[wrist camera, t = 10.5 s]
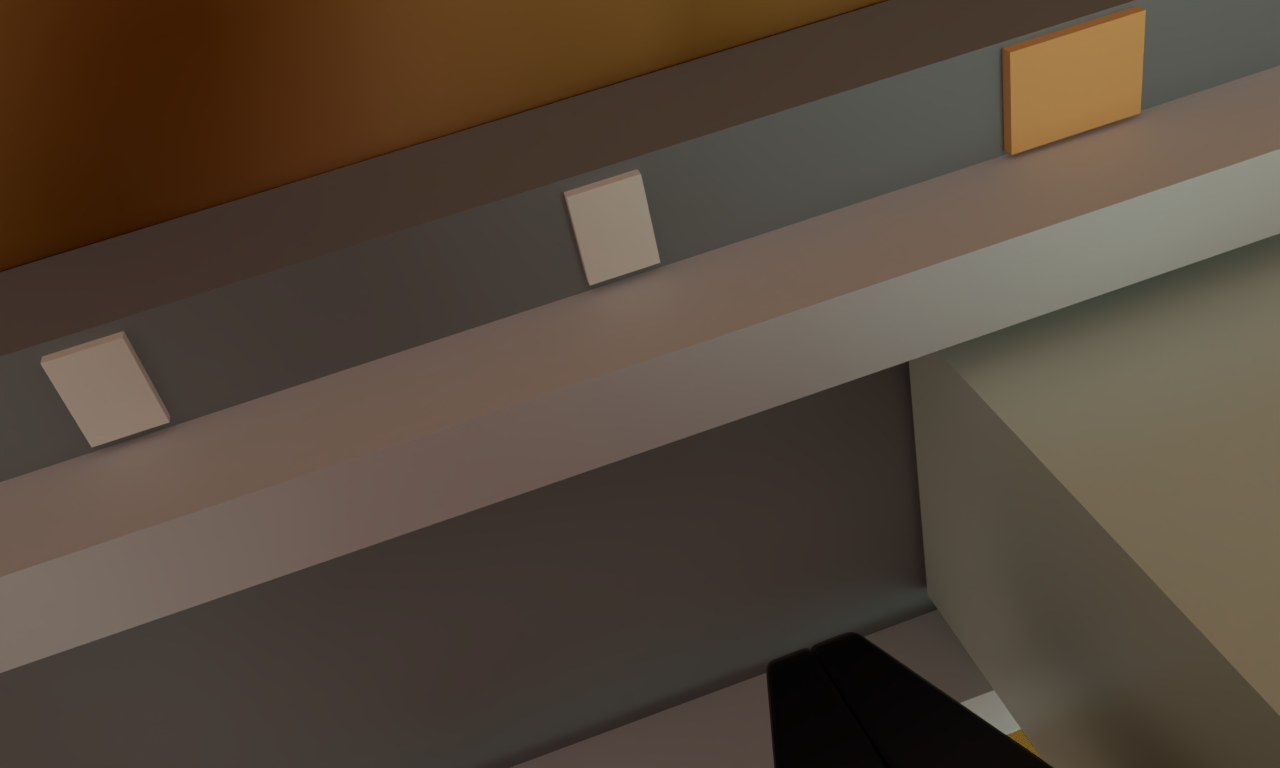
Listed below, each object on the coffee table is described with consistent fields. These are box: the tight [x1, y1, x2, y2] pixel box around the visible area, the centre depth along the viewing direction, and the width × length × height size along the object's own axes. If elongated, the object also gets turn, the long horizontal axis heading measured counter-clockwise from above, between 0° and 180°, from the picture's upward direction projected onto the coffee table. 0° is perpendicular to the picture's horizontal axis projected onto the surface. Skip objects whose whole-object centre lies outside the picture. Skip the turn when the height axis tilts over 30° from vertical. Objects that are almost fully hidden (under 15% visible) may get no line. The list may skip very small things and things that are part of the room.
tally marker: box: [909, 233, 1280, 768], centre depth 10 cm, size 4×4×5 cm
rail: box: [0, 0, 1280, 768], centre depth 12 cm, size 8×30×3 cm, turn 101°
